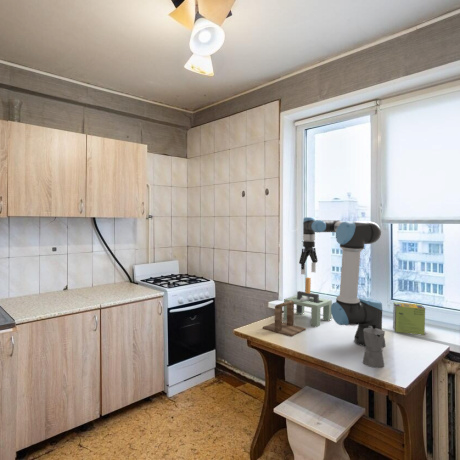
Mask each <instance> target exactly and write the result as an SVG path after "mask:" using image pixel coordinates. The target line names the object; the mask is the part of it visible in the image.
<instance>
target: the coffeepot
mask: <svg viewBox="0 0 460 460" xmlns="http://www.w3.org/2000/svg"><path fill="white" fill-rule="evenodd" d="M372 326H373V327H372ZM372 326H370V325H367V328H364V330H363V332H364V340H365V345H366V346H365V348H364V355H363V358H362V359H363V360H362V363H363V365H365V366H367V367H369V368H370V367H371V368H373V369H374V368H375V369H379V368H384V366H385V363H384V362H385V361H384V355H383V349H382V348H383V347H382V345H383V340H384V338H385V334H386V331H384V330H383V329H382V330H381V329H377V328H376V325H375V324H372Z"/></svg>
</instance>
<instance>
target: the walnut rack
mask: <svg viewBox="0 0 460 460" xmlns="http://www.w3.org/2000/svg"><path fill="white" fill-rule="evenodd" d="M286 305H287V319H286V322H283V308H284V306H286ZM294 315H295V304H294V302H293V301H292V300H291V301H288V302H284V301H283V302H282V303H279V304H276V305H274V322H272V323H269V324H266V325H265V326H262V330H266V331H270V332H273V333H277V334H281V335H285V336H287V337H291V338H292V337H295V336H296V335H299V334H300V333H302V332H305V331H306V330H307V328H306V327H302V326H298V325H295V324H294V323H295V322H294V317H295V316H294Z"/></svg>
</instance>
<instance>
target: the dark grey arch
mask: <svg viewBox="0 0 460 460" xmlns="http://www.w3.org/2000/svg"><path fill="white" fill-rule="evenodd" d="M311 282H312V280H311V277H305V282H304V283H305V290H304V291H301V290H299V291H296V292H297V293H296V295H297V299H298V300H300V298H302V296H308V297H314V303H319V298H320V295H319V294H318V293H311V284H312V283H311ZM297 313H302V306H300V305H297Z"/></svg>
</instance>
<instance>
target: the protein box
mask: <svg viewBox="0 0 460 460" xmlns="http://www.w3.org/2000/svg"><path fill="white" fill-rule="evenodd" d="M392 310H393V313H392V314H393V315H392V318H393V319H392V321H393V322H392V328H393V330H394V332H395V333H401V334H409V333H412V334H411V335H418V334H421V335H420V336H425V333H426V332H425V331H426V329H425V328H426V326H425V324H426V308H425V307H424V306H423V305H422V304H420V303H410V302H409V303H407V302H406V303H405V302H393V309H392Z"/></svg>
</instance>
